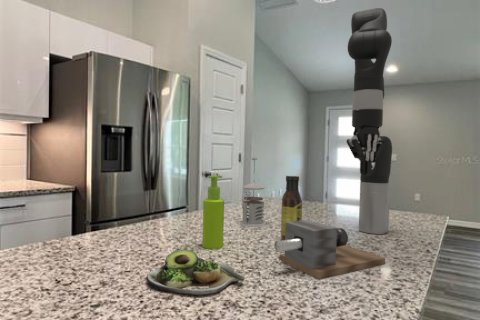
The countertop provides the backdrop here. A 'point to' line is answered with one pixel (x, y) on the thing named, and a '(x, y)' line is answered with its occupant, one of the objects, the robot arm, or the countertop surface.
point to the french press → (253, 206)
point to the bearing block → (324, 251)
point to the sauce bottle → (291, 203)
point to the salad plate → (191, 274)
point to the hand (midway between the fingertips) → (365, 175)
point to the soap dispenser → (213, 217)
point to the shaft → (298, 242)
